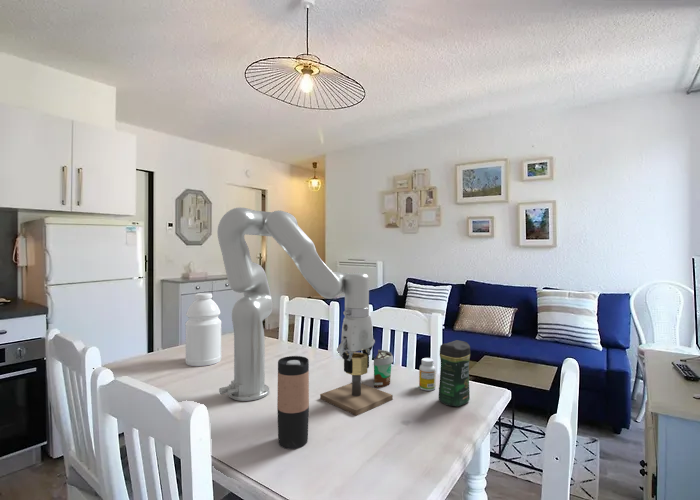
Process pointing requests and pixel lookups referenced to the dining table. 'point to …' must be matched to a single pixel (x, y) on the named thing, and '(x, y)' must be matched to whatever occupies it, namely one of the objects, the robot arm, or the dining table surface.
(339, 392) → the post stand
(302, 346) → the dining table surface
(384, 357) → the food container
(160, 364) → the dining table surface
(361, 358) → the brass collar
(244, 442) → the dining table surface
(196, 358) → the bottle
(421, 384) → the supplement bottle
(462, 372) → the coffee jar
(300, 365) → the travel mug
